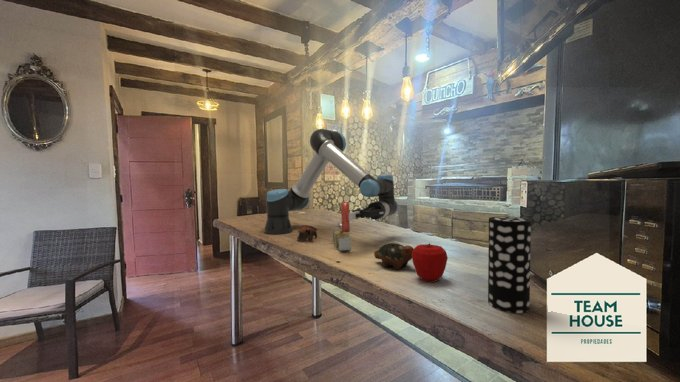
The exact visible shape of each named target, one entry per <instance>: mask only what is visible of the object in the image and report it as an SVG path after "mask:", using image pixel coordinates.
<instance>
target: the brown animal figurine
mask: <svg viewBox="0 0 680 382" xmlns="http://www.w3.org/2000/svg"><path fill="white" fill-rule="evenodd" d="M317 231H318V229H317V228H316V227H314V226H311V225H308V224H304V225H302V227H301V228H300V229H299V230H298V235H297V239H296V241H297V242H304V243H307V240H308V241H312V240H313V238H314V239H315V240H316V239H318V232H317Z"/></svg>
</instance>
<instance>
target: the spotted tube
mask: <svg viewBox="0 0 680 382" xmlns="http://www.w3.org/2000/svg"><path fill="white" fill-rule="evenodd" d="M531 235H532V219H529V218H527V217H519V216H517V217H516V216H491V217H488V259H487V260H488V262H487V263H488V265H487V266H488V267H487V269H488V271H487V272H488V273H487V274H488V275H487V281H488V283H487V289H488V290H487V303H488V305H489V306H491V307H492V308H494V309H496V310H499V311H502V312H505V313H512V314H524V313H527V312H529V311H530V305H531V304H530V303H531V299H530V298H531V296H530V295H531V255H532V254H531V251H532V250H531V249H532V248H531V247H532V246H531V245H532V244H531V243H532V242H531V241H532V240H531V239H532V236H531Z"/></svg>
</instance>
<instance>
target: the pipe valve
mask: <svg viewBox="0 0 680 382" xmlns="http://www.w3.org/2000/svg"><path fill="white" fill-rule="evenodd" d="M332 241H333V246H334V248H335V249H336V250H337V251H338V252H350V251H352V237H350V232H342V230H341V228H340V227H338V229H332Z"/></svg>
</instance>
